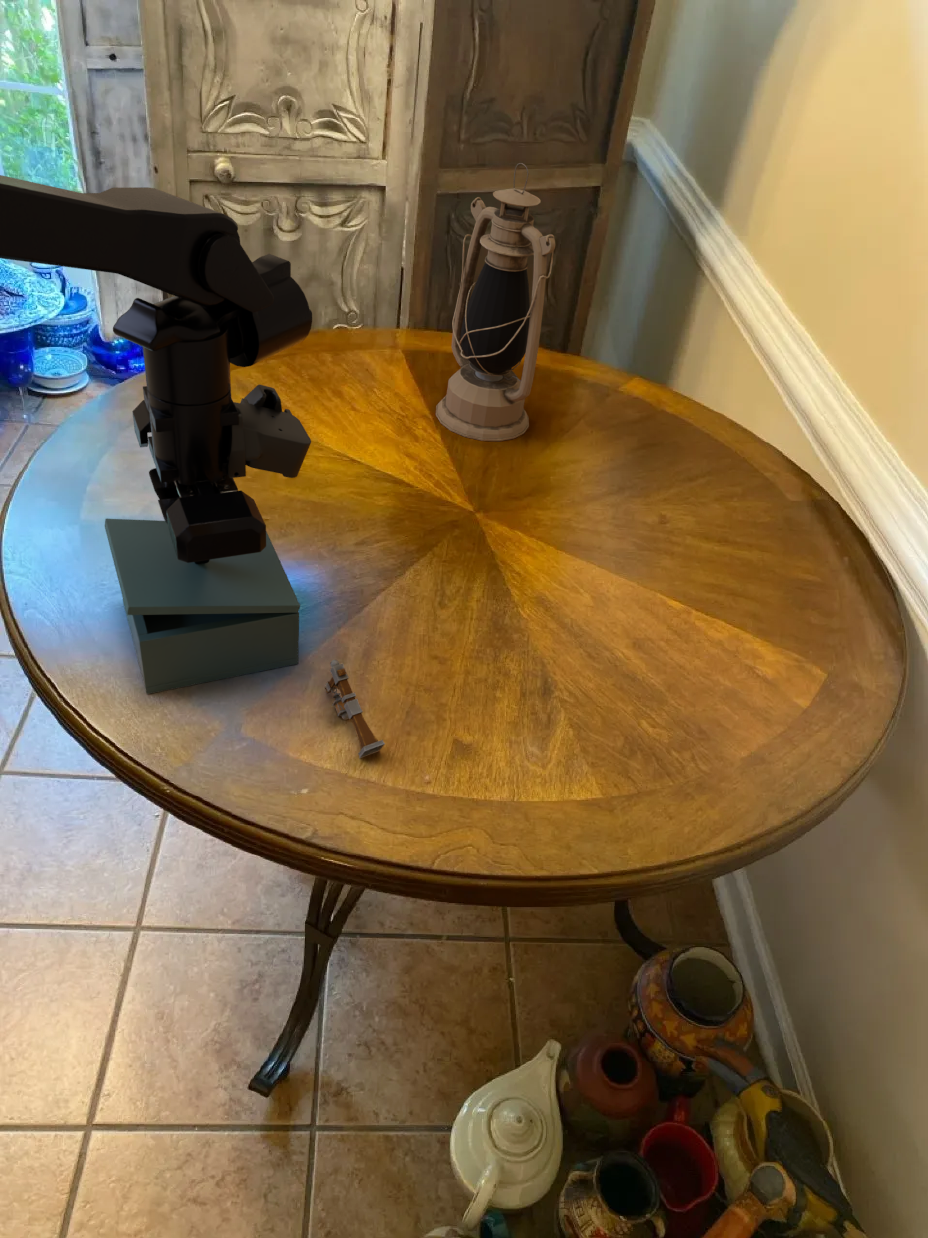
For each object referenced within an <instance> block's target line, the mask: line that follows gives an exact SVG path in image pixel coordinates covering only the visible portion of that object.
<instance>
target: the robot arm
mask: <svg viewBox="0 0 928 1238" xmlns="http://www.w3.org/2000/svg"><path fill="white" fill-rule="evenodd" d="M238 230H239V226H238V223H237V222H236V220H235V219H233V218H232V217H230V216H229V215H227V214H225V213H223V212H220V211H218V210H214V209H212V208H209V207H206V206H203V205H201V204H198V203H196V202H193V201H190V200H187V199H185V198H182V197H179V196H176V195H173V194H172V193H168V192H166V191H164V190H160V189H158V188H154V187H143V186H142V187H111V188H108V189H106V190H104V191H101V192H79V191H74V190H70V189H65V188H61V187H57V186H52V185H48V184H42V183H38V182H34V181H29V180H25V179H20V178H15V177H12V176H7V175H3V174H0V259H3V260H11V261H17V262H27V263H32V264H41V265H47V266H48V265H49V266H57V267H62V268H63V267H65V268H70V269H71V268H72V269H79V270H87V271H95V272H102V273H110V274H117V275H120V276H122V277H124V278H128V279H130V280H133V281H134V282H135V281H136V282H138V283H141V284H142V285H145V286H148V287H151V288H154V289H156V290H158V291H161V292H164V293H166V294H169V295H171V297H168V298H166V299H163V300H160V301H156V302H154V303H152V302H150V301H147V300H145V299H143V298H139V297H135V298H134V299H133V302H132V303H131V306H130V307H129V309H127V311H126V312H124V313H123V314H121V315H120V316H119V317H118V319H116V322H115V323H114V325H113V326H112V332H113V334H114V335H116V336H118V337H119V338H122V339H125V340H127V341H129V342H131V343H133V344H135V345H138V346H140V347H142V352H143V353H142V355H143V364H144V373H145V374H144V375H145V381H146V382H145V383H146V386H145V385H144V386H142V392H143V393H142V394H143V400H142V401H140V403H138V405H137V406H136V407H135V408H134V409H133V410H132V420H133V429H134V434H135V436H136V439H137V442H138V446H139V448H148V449H149V452H150V455H151V458H152V460H153V463H154V468H151V469H150V470H149V471H148V476H149V479H150V482H151V485H152V487H153V490H154V493H155V494H156V496H157V498H158V500H157V503H158V505H159V508H160V511H161V514H162V518H163V521H165V522H166V523H167V524H168V527H169V533H170V538H171V541H172V544H173V547H174V550H175V553H176V556H177V559H178V560H181V561H184V562H186V563H191V562H194V563H195V564H204V563H208V562H209V561H210V560H211V559H217V558H224V557H231V556H237V555H244V554H251V553H258V552H261V551H262V550H263V549H264V548H265V547H266V531H267V525H266V522H265V520H264V518H263V516H262V514H261V512H260V509H259V508H258V505H257V503H256V501H255V499H254V498H253V497H251V496H250V495H248V494H247V493H246V492H245V491H243V490H239V488H238V486H237V483H236V481H235V478H245V477H247V467H248V468H252V469H255V470H260V471H265V472H270V473H275V474H280V475H282V476H283V477H284V478H289V479H294V478H295V479H296V478H297V477H298V476H299V473H300V471H301V468H302V466H303V463H304V461H305V458H306V456H307V453H308V452H309V448H310V446H311V444H312V439H311V438H310V435H309V434H308V432H307V431H306V429H305V427H304V425H303V423H302V422H301V420H300V419H299V418H298V417H297V416H295V415H293V414H292V412H291V410H290V409H288V408H285V409H284V411H283V407H282V406H283V405H282V400H281V397H280V395H279V394H278V392H277V390H276V389H275V388H274V387H272V386H267V385H263V384H261V383H260V384H259V383H258V384H257V385H256V386H254V388H253V389H252V390H251V391H250V392H248V394H246V395H245V396H244V398H241V400H240V402H236V401H233V399H232V382H231V381H232V380H231V377H232V376H231V364H232V365H233V366H237V367H240V368H249V367H252V366H255V365H256V364H259V363H260V362H263V361H265V360H268V358H271V357H273V356H275V355H277V354H279V353H282V352H284V351H287V350H288V349H290V348H292V347H294V346H297V345H298V344H301V343H302V342H304V341H305V340H306V339H307V337H308V336H309V334H310V332H311V330H312V326H313V311H312V310H311V309H310V305H309V302H308V299H307V297H306V294H305V292H304V291H303V290H302V287H301V286H300V285H299V284H298V282H297V281H296V280H295V279H294V278H293V277H292V274H291V273H292V265H291V264H292V263H291V261H289V260H288V259H285V258H282V257H279V256H277V255H274V254H272V253H267V254H265V255H262V256H259V257H257V258H256V259H255V260H254V261H252V260H251V258H250V256H249V255H248V254H247V252H246V251H245V249H244V248H243V247H244V246H242V244H241V237H240V234H239V232H238ZM150 433H151V436H150V435H149V434H150ZM148 435H149V436H148Z"/></svg>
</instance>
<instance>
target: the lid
mask: <svg viewBox="0 0 928 1238" xmlns="http://www.w3.org/2000/svg"><path fill="white" fill-rule="evenodd" d="M104 529H105V534H106V537H107V542H108V546H109V551H110V553H111V557H112V561H113V565H114V569H115V573H116V577H117V580H118V581H117V582H118V584H119V589H120V592H121V597H122V596H123V598H122V601H123V600H124V604H125V608H126V612H127V615H166V614H236V613H298V612H299V613H300V608H301V603H300V602H299V599H298V597H297V594H296V593H295V590H294V588H293V586H292V584H291V582H290V580H289V577H288V575H287V573H286V571H285V569H284V566H283V564H282V562H281V560H280V558H279V556H278V553H277V552H276V549H275V547H274V544H273V542H272V541H271V538H270V536H269V534H268V531H267V530H266V547H265V548H264V549H263V550H262V551H261V552H258V553H251V554H244V555H237V556H231V557H224V558H217V559H211V560H210V561H209V562H208V563H204V564H195V563H194V562H191V563H186V562H184V561H181V560H178V559H177V556H176V553H175V550H174V547H173V544H172V541H171V538H170V533H169V527H168V524H167V523H166V522H165V520H157V519H156V520H154V519H153V520H152V519H127V518H105V519H104ZM125 608H124V609H125ZM126 612H125V613H126Z"/></svg>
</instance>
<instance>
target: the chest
mask: <svg viewBox="0 0 928 1238" xmlns="http://www.w3.org/2000/svg"><path fill="white" fill-rule="evenodd" d="M121 598H122V603H123V604H122V605H123V609H124V612H125V616H126V621H127V624H128V627H129V632H130V635H131V639H132V643H133V648H134V651H135V655H136V660H137V663H138V667H139V671H140V675H141V678H142V683H143V686H144V690H145V694H146V695H149V694H154V693H160V692H165V691H170V690H174V689H179V688H184V687H190V686H195V685H199V684H204V683H210V682H214V681H219V680H226V679H229V678H235V677H240V676H244V675H249V674H254V673H259V672H264V671H268V670H269V671H270V670H276V669H280V668H284V667H285V668H286V667H289V666H294V665H295V666H296V665H299V648H300V646H299V645H300V611H299V612H298V613H236V614H166V615H127V612H126V608H125V604H124V600H123V596H122V595H121Z"/></svg>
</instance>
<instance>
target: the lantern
mask: <svg viewBox="0 0 928 1238" xmlns="http://www.w3.org/2000/svg"><path fill="white" fill-rule="evenodd" d="M519 165H522V166H524V167H525V168H526V173H527V174H526V180H525V183H524V186H523V187H524V188H523V189H520V188H515V187H516V186H515V184H516V173H517V167H518V166H519ZM529 175H530V173H529V169H528V166H527V165H526V164H525V163H523V162H519V163H516V165H515V167H514V173H513V188H507V189H498V190H495V191H494V192H492V196H493V197H494V198H495V199H496V200H497V201H499V202H501V204H500V208H497V207H495V206H486V204H485V203H484V201H483V200H482V198H481V197H480V196H477V197H475V198H474V199H473V200H472V202H471V203H470V212H471V215H472V216H473V219H474V221H475V223H474V228H473V231H472V233H471V234H469V233H467V234H465V236H464V238H463V241H462V263H461V276H460V277H461V279H460V285H459V291H458V295H457V300H456V304H455V309H454V314H453V317H452V321H451V323H452V326H451V327H452V335H451V336H452V337H451V351H452V354H453V356H454V359H455V361H456V362H457V364H458V366H460V368H459V369H458V370H457V371H456V372H455V373H453V374H452V375H451V377H449V378H448V381H447V390H446V395H445V396H444V397H443V398H442V399H441V400H440V401H439V402H438V403H437V404H436V406H435V416H436V418H437V419H438V421H439V423H440V424H441V425H442V426H443V427H445V428H446V429H447V430H449V431H450V432H452V433H455V434H457V435H460V436H461V437H464V438H468V439H472V440H477V441H482V442H502V441H509V440H514V439H516V438H519V437H520V436H521V435H524V434H525V433H526V431H527V430H528V429H529V427H530V421H529V420H530V418H529V415H528V413H527V411H526V410H525V408H524V407H525V402H526V399H527V397H529V396H530V395H531V392H532V391H531V390H532V386H533V383H534V377H535V372H536V365H537V359H538V353H539V346H540V338H541V332H542V331H541V330H542V321H543V312H544V305H545V293H546V280H547V279H549V278H550V276H551V274H552V268H553V262H554V251H555V248H556V240H555V235H553V234H547V235H543V233H542V232H541V231H540V230H539V229H538V228H537V227H534V221H535V217H534V216H533V215H532V214H530V213H529V212H530V207H531V208H532V207H535V206H538V205H539V204H541V199H540V198H539V197H538V196H536V195H534V194H532V193H530V192H529V191H526V187H527V184H528V179H529ZM509 205H510V206H509ZM490 223H491V227H490V233H487V234H486V231H487V228H488V226H489V224H490ZM467 237H469V238H470V240H469V241H470V242H469V245H468V250H467V254H466V258H465V247H466V246H465V245H466V240H467ZM482 247H483V248H485V249H486V250H487V255H486V256H485V258H484V264H483V266H482V268H481V270H480V273H479V275H478V277H477V279H476V281H475V282H474V280H475V275H476V270H477V266H478V262H479V258H480V253H481V250H482ZM550 254H551V258H550V259H551V260H550V265H549V272H548V274H547V257H548V255H550ZM530 256H533V274H532V288H531V289H532V290H531V300H530V284H529V276H528V268H529V263H528V258H529V257H530ZM473 287H474V288H473ZM523 359H524V361H523V368H522V374H521V378H519V377H518V375H517V374H516V373H515V372H514V370H515V369H516V368H517V367H518V366H520V364H521V363H522V360H523Z"/></svg>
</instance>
